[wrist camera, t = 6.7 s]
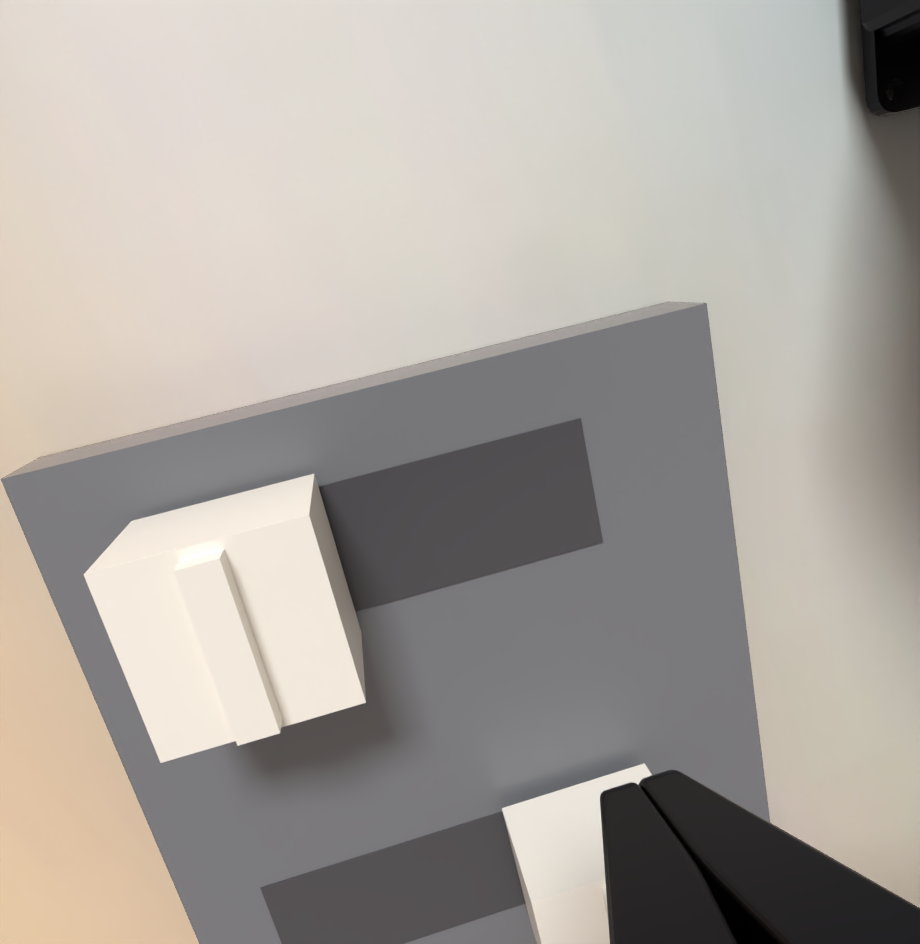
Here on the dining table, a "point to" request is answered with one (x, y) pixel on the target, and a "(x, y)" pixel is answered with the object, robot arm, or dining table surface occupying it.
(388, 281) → the dining table surface
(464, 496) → the switch panel
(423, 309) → the dining table surface
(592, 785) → the middle tab
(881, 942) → the robot arm
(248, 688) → the tab
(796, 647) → the dining table surface
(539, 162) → the dining table surface
